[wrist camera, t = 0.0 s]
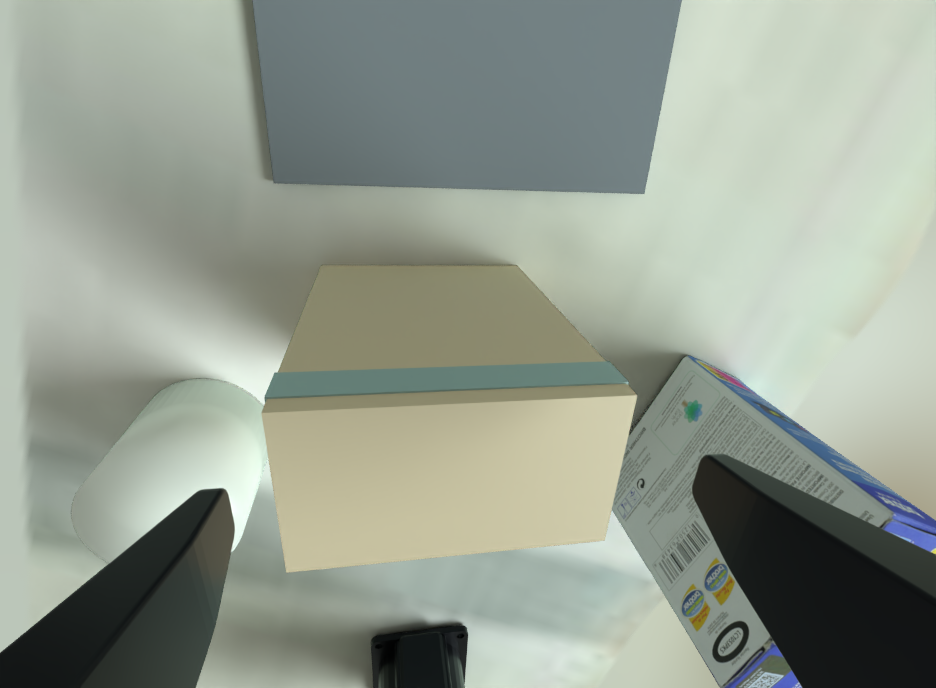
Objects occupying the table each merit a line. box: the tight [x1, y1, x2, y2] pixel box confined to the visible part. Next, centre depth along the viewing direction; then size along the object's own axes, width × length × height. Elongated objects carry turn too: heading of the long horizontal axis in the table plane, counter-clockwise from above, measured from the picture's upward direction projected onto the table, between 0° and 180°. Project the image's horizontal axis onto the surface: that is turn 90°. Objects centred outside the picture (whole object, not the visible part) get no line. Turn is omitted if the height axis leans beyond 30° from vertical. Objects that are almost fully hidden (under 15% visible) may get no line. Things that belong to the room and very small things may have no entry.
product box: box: [612, 355, 936, 688], centre depth 22 cm, size 10×6×14 cm, turn 153°
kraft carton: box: [261, 265, 637, 573], centre depth 18 cm, size 5×9×12 cm, turn 87°
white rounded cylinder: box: [71, 378, 268, 563], centre depth 21 cm, size 6×6×6 cm
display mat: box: [252, 0, 682, 194], centre depth 18 cm, size 13×16×1 cm
